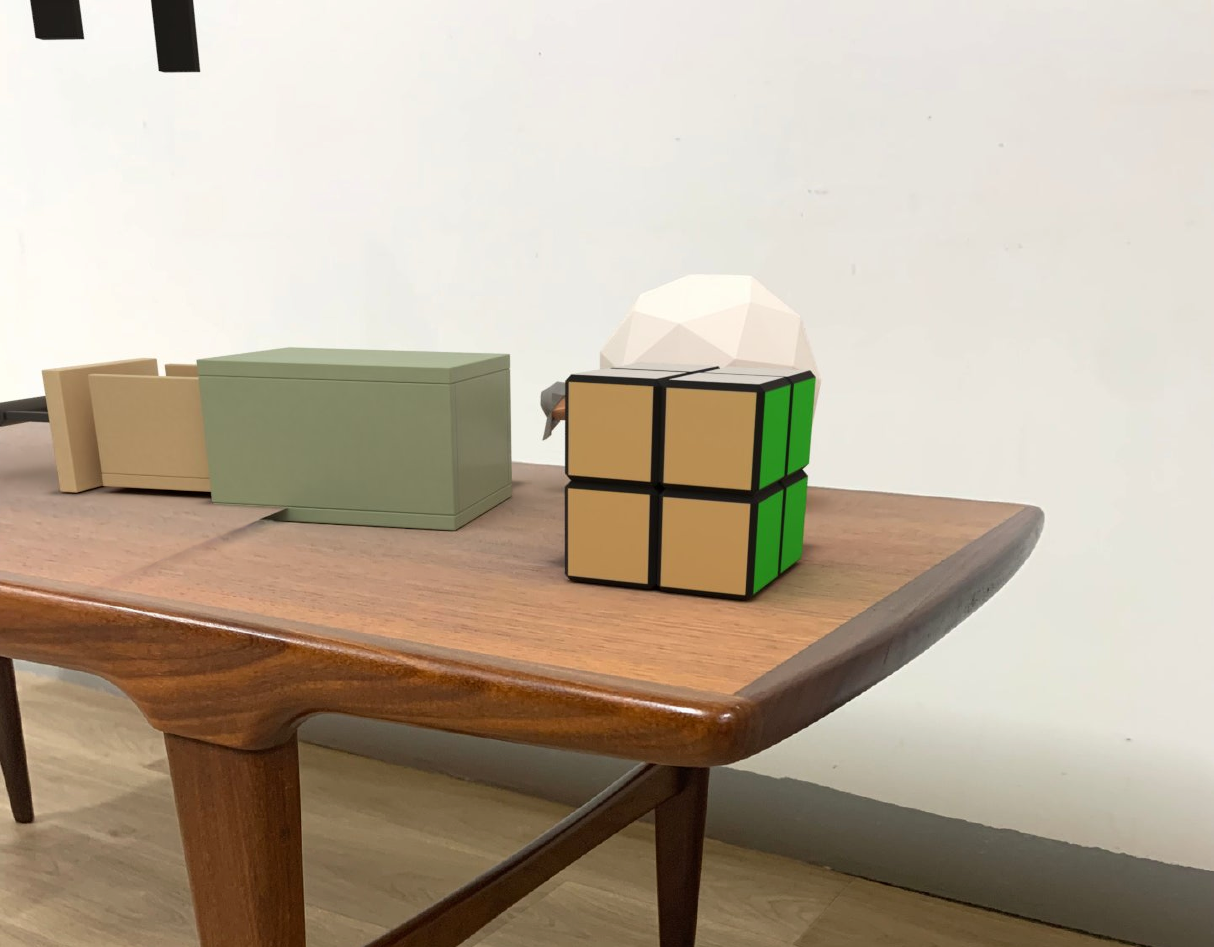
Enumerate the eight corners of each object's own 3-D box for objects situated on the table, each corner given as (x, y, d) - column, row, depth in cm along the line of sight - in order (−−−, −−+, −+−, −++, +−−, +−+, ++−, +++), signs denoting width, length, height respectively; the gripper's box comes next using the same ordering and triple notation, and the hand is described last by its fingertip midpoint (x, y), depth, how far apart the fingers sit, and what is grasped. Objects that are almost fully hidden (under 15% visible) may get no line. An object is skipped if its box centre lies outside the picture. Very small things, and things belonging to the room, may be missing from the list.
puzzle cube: (633, 545, 72) (638, 361, 68) (803, 562, 69) (818, 370, 65) (561, 581, 64) (562, 374, 60) (750, 603, 60) (764, 384, 56)
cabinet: (213, 517, 78) (195, 359, 74) (299, 485, 89) (288, 347, 86) (455, 531, 75) (449, 367, 71) (512, 496, 87) (510, 354, 83)
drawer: (-34, 486, 81) (-56, 366, 78) (71, 462, 92) (54, 355, 89) (272, 503, 77) (260, 377, 74) (344, 475, 88) (337, 364, 85)
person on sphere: (842, 443, 91) (583, 463, 97) (824, 223, 82) (539, 261, 88) (817, 540, 81) (529, 555, 87) (794, 301, 71) (472, 337, 77)
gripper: (-13, -506, 59) (59, 20, 67) (237, -292, 81) (267, 82, 90) (-151, -491, 60) (-64, 22, 69) (133, -285, 83) (172, 83, 91)
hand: (124, 57), depth 79 cm, fingers open, 13 cm apart
